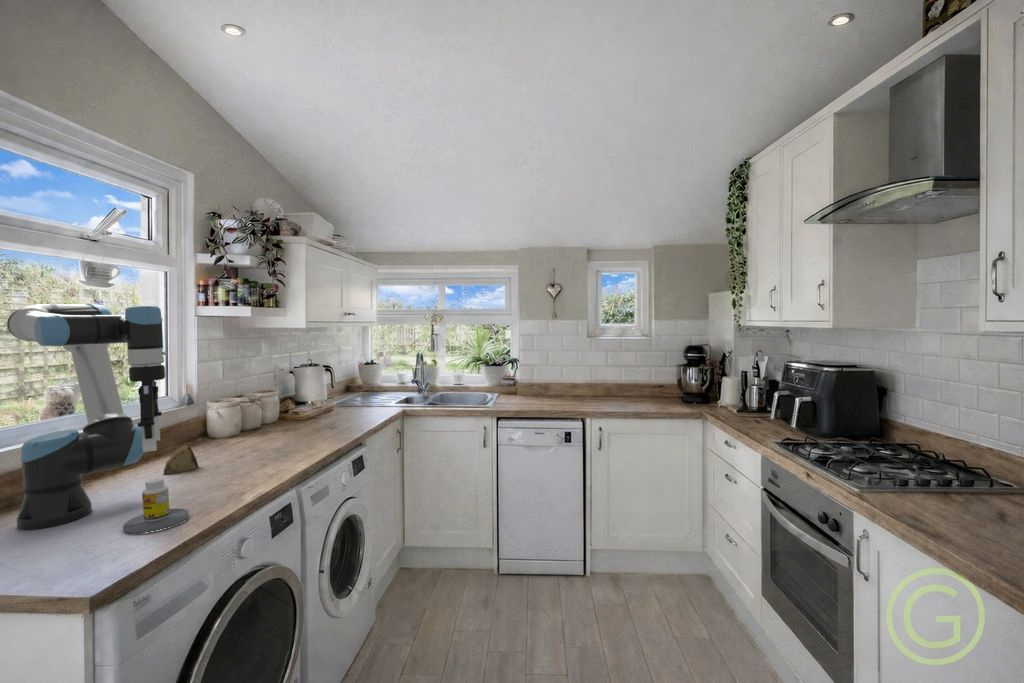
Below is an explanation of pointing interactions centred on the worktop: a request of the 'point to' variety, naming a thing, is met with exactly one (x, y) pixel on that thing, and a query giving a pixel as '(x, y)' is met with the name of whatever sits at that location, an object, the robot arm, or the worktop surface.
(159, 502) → the supplement bottle
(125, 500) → the worktop surface
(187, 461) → the rock
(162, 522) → the plate
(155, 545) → the worktop surface
